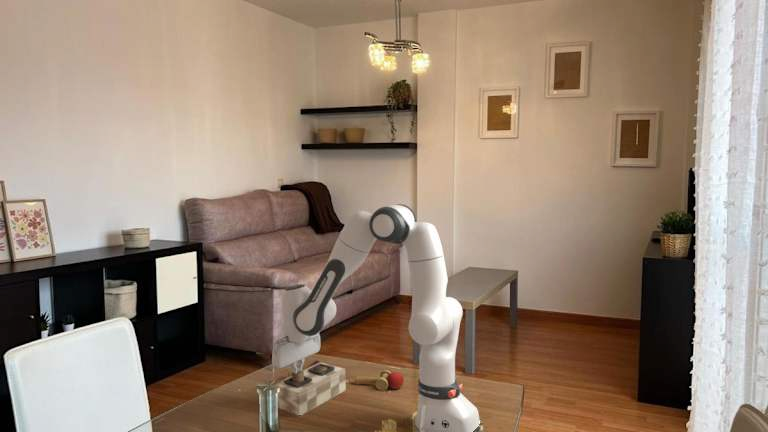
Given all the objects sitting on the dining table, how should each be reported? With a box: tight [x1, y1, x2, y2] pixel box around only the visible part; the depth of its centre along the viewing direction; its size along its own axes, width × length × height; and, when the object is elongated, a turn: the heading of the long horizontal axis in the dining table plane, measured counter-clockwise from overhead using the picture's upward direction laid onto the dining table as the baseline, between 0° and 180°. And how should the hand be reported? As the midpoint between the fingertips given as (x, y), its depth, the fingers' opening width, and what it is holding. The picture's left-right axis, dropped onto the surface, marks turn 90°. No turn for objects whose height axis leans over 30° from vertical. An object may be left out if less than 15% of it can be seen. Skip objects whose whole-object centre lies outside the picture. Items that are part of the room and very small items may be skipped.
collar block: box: [272, 361, 347, 416], centre depth 199 cm, size 12×24×9 cm, turn 145°
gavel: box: [287, 359, 322, 378], centre depth 223 cm, size 21×5×10 cm
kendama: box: [354, 370, 404, 391], centre depth 209 cm, size 8×6×18 cm
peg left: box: [292, 370, 304, 383], centre depth 194 cm, size 4×4×8 cm
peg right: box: [316, 366, 327, 371], centre depth 204 cm, size 4×4×8 cm
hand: (297, 372), depth 194 cm, fingers closed, pressing on peg left
